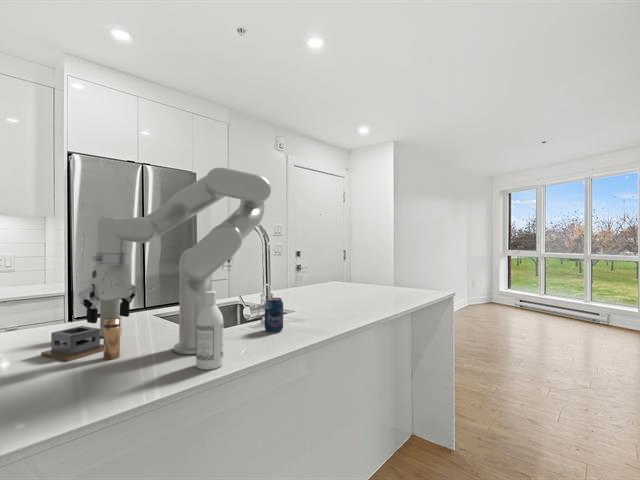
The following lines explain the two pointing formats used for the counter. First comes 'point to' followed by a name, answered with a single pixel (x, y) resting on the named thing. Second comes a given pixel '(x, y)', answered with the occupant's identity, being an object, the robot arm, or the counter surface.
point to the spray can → (109, 313)
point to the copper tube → (111, 338)
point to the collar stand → (74, 343)
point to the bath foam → (209, 334)
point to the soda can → (273, 315)
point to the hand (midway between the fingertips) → (108, 319)
